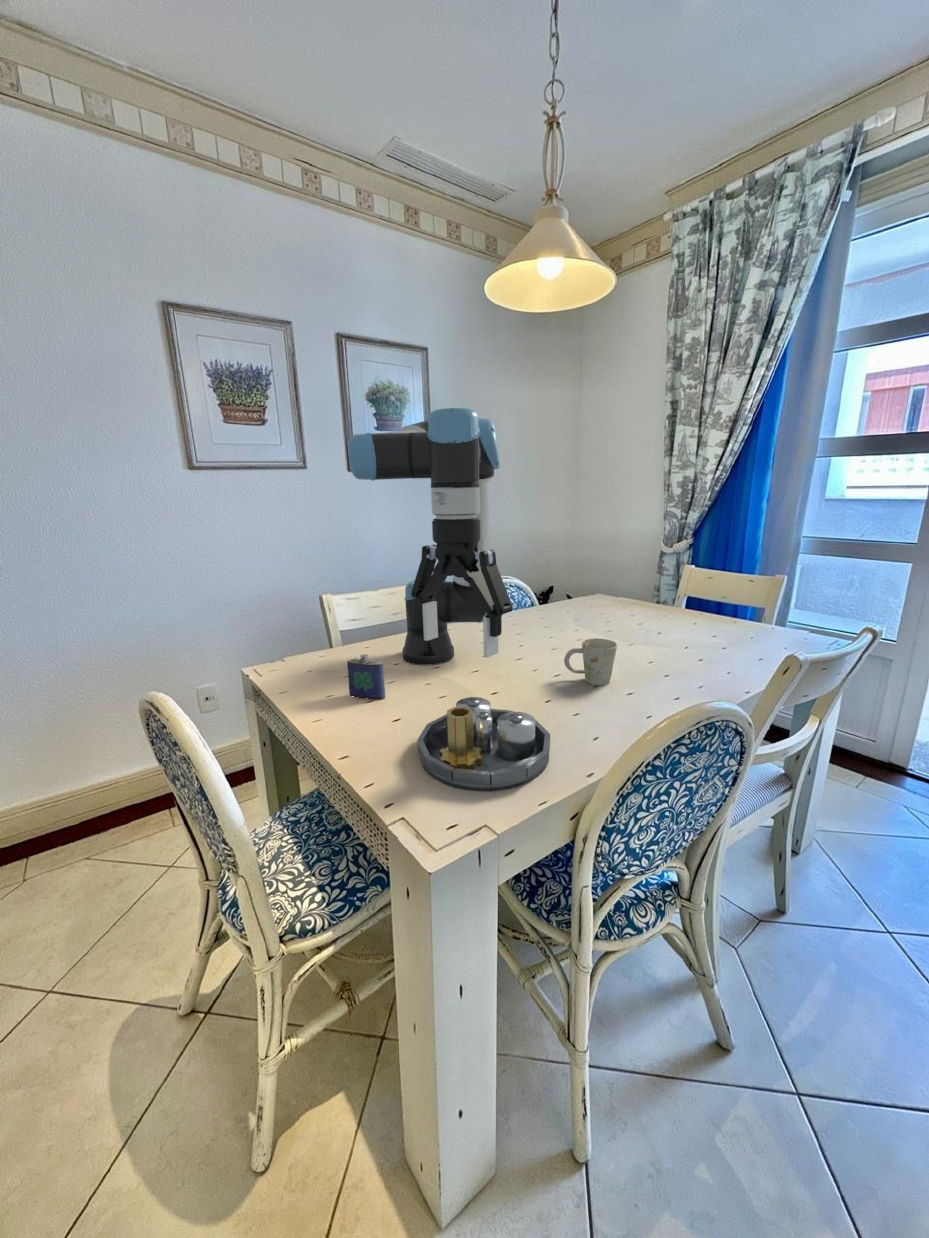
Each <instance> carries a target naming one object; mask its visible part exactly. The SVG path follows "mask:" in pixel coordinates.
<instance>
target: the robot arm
mask: <svg viewBox="0 0 929 1238" xmlns="http://www.w3.org/2000/svg"><path fill="white" fill-rule="evenodd" d="M347 447H348V448H347V451H348V452H347V455H348V462H349V463H348V464H349V467H350V471H351V473H352V475H353V477H354V478H355V479H357V480H361V481H362V480H365V481H367V480H369V481H373V482H374V481H375V480H377V481H378V480H379V481H380V480H402V479H403V480H404V479H430V496H431V498H430V499H431V514H432V515H434V516H435V518H433V519H432V521H431V526H432V527H431V531H432V533H431V534H432V541H433V542H434V543H436V544H427V545H423V546H421V559H420V562H419V566H418V570H417V572H416V575H415V579H414V580H411V581H409V582H408V583H407V584H406V585H405V588H404V590H405V591H404V592H405V593H404V596H405V597H404V601H405V613H406V614H405V615H406V637H405V641H404V646H403V647H402V651H401V652H402V655H401V656H402V660H403V661H405V662H406V663H408V664H411V665H416V666H432V665H440V664H444V663H447V662H449V661H451V660H452V659H453V658H454V657H455V647H454V645H453V643H452V640H451V637H450V633H449V631H448V623H478V624H483V625H482V626H483V629H482V630H483V631H482V632H483V657H484V658H490V657H492V656H495V655H497V654H499V636H501V635H502V631H503V630H502V628H503V627H502V616H503V615H505V614H508V613H511V612H512V611H513V609H514V607H513V604H512V602H511V598H510V597H509V594H508V592H507V589H506V586H505V584H504V583H505V582H504V581H503V579H502V576H501V573H500V571H499V567H498V565H497V557H496V556H497V555H496V551H495V550H494V549H490V547H489V546H490V545H489V544H490V542H489V541H490V539H489V537H490V535H489V534H490V533H489V531H490V527H489V483H490V482H491V481H492V480H493V478H494V477H495V470H497V469H500V467H501V465H500V458H499V449H498V441H497V433H496V426H495V423H494V421H492V420H491V419H489V418H479V415H478V413H477V411H476V410H473V409H470V408H465V407H463V408H462V407H447V408H438V409H435V410H433V411H431V412H430V413H429V415H428V420H423V421H421V422H415V423H412V424H408V425H405V426H402V427H401V428H399V429H398V430H397V431H389V432H378V433H377V432H376V433H375V432H374V433H371V432H366V433H360V434H353V435H352V436H351V437H350V439H349V442H348V446H347ZM447 577H452V581H447Z"/></svg>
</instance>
